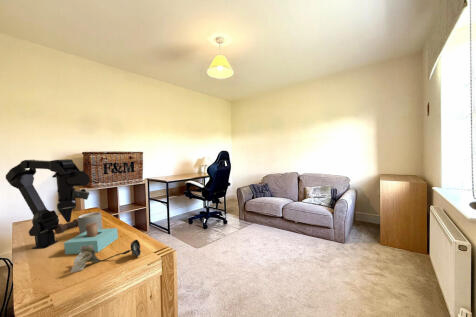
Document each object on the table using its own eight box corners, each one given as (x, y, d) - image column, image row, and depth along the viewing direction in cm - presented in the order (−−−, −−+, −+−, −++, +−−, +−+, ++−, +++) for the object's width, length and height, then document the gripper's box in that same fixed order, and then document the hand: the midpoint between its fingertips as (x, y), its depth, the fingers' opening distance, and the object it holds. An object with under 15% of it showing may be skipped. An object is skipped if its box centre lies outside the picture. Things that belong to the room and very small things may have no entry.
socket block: (65, 254, 85) (63, 242, 85) (89, 239, 99) (88, 229, 99) (98, 252, 85) (97, 240, 85) (118, 238, 99) (117, 227, 99)
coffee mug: (105, 232, 108) (103, 213, 108) (82, 238, 101) (80, 219, 101) (97, 227, 117) (95, 210, 117) (75, 233, 109) (74, 215, 109)
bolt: (85, 226, 126) (59, 236, 111) (79, 222, 127) (52, 231, 112) (88, 218, 125) (62, 226, 111) (82, 214, 126) (56, 222, 112)
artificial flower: (137, 265, 75) (129, 243, 72) (70, 283, 71) (58, 261, 68) (142, 248, 83) (135, 228, 80) (83, 263, 80) (73, 243, 76)
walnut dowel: (85, 247, 90) (83, 225, 90) (92, 243, 94) (90, 222, 94) (94, 247, 90) (92, 225, 90) (100, 243, 94) (98, 222, 94)
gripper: (88, 185, 91) (91, 219, 91) (86, 182, 105) (88, 212, 106) (55, 189, 84) (58, 226, 84) (57, 185, 98) (60, 217, 99)
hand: (68, 219), depth 94 cm, fingers open, 9 cm apart
